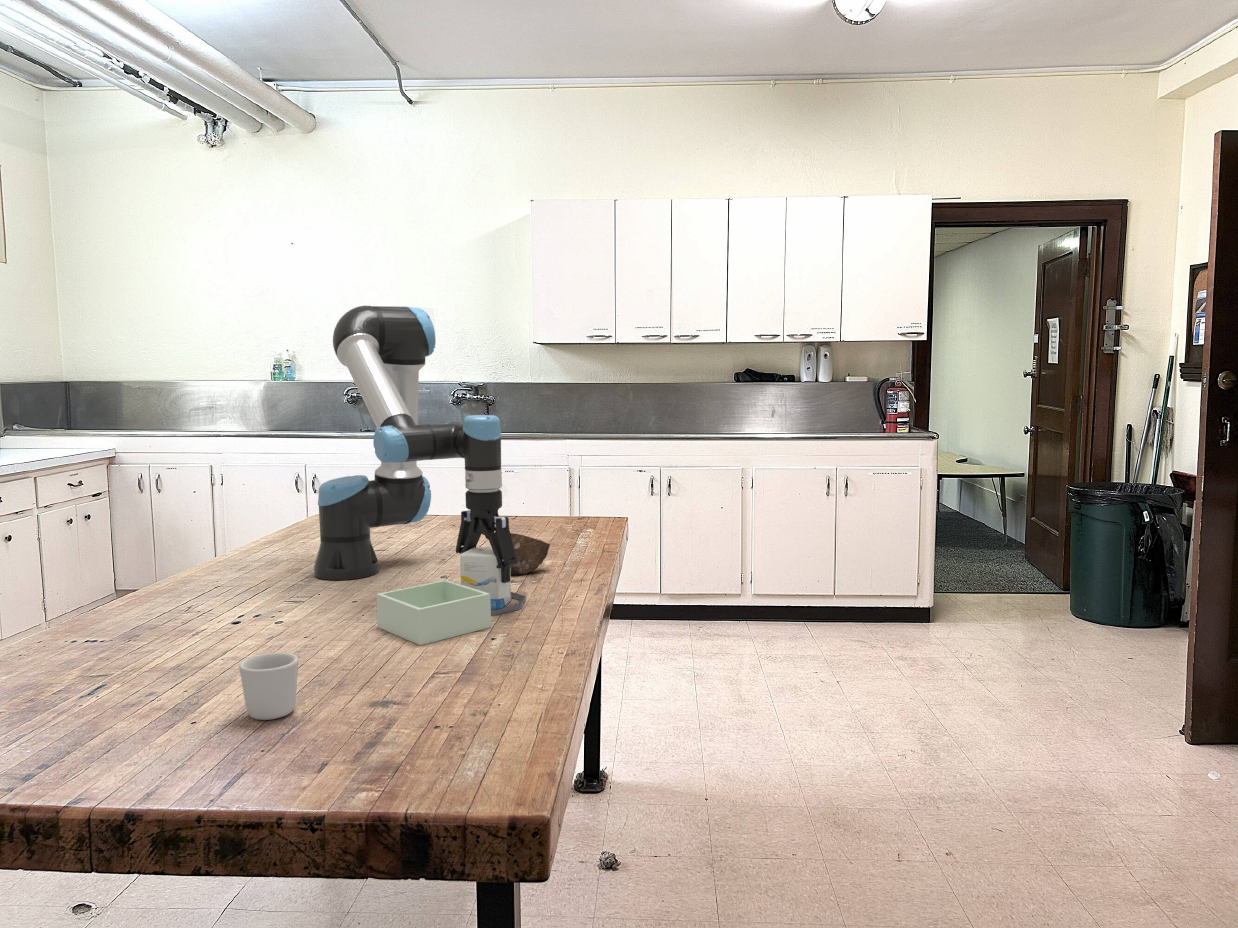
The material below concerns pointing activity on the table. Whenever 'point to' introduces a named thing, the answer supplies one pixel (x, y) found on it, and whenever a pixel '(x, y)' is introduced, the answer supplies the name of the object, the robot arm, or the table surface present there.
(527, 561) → the rock
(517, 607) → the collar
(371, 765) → the table surface
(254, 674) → the cup
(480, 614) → the bin
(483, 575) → the ink box
